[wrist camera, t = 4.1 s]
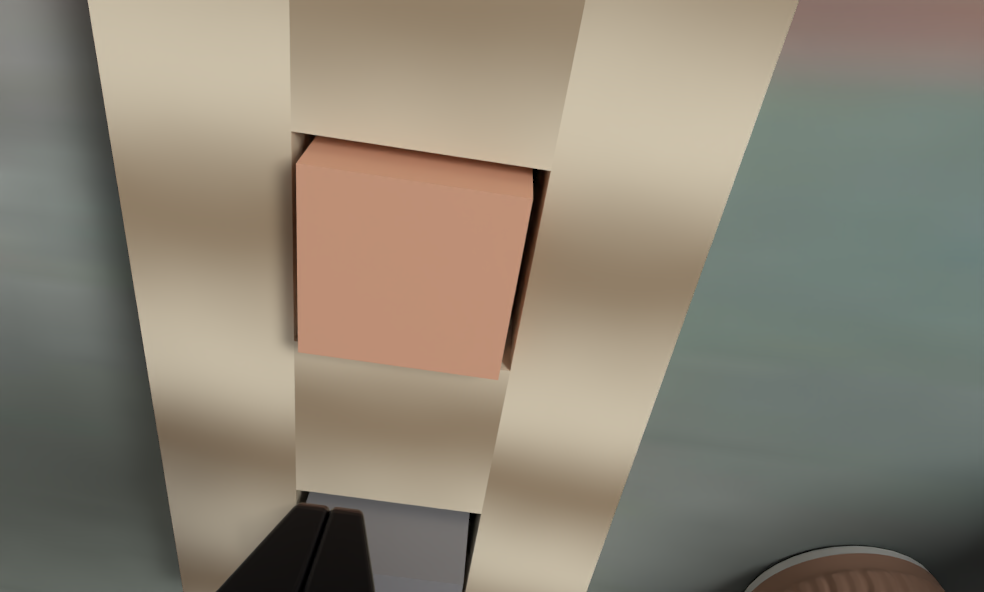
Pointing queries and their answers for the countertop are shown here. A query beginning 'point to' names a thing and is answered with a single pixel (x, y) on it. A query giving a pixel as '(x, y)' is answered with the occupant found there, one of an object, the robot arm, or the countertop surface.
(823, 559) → the coffee cup
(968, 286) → the countertop surface
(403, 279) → the terracotta key
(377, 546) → the charcoal key
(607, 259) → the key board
